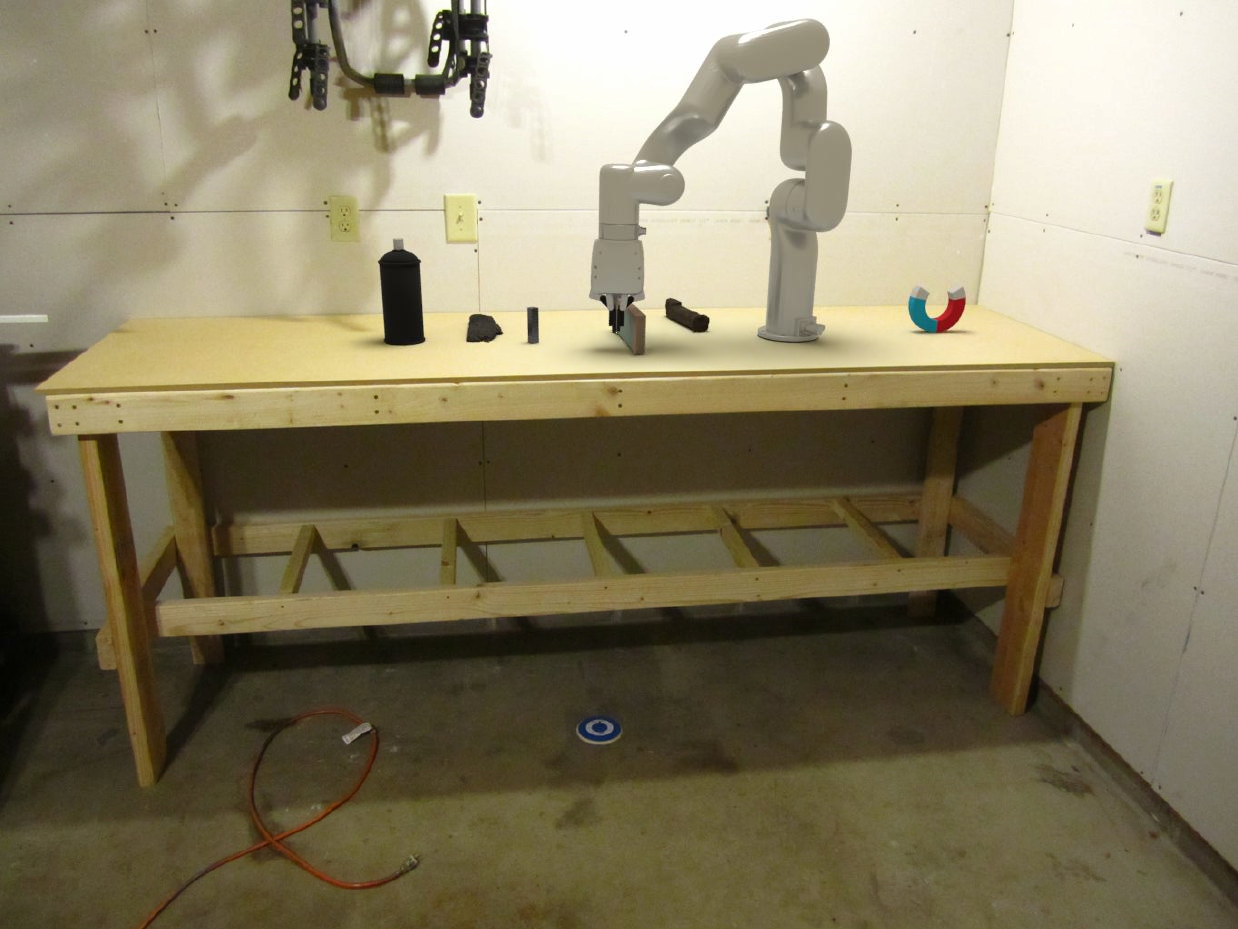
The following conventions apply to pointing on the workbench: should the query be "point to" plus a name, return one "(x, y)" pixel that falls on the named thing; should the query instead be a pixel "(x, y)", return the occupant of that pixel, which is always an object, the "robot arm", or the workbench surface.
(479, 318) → the wood
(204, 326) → the workbench surface
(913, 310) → the magnet
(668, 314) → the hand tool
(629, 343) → the gate
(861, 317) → the workbench surface
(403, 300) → the aerosol can
